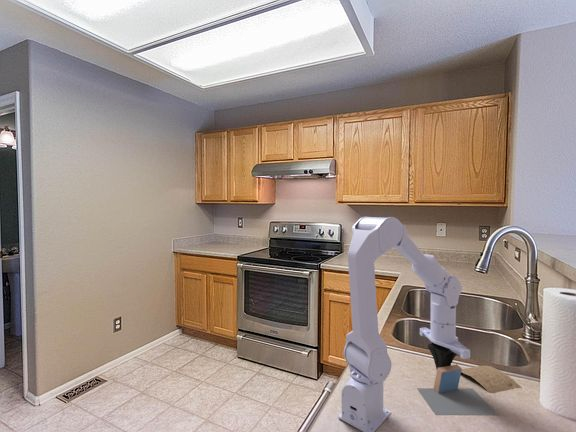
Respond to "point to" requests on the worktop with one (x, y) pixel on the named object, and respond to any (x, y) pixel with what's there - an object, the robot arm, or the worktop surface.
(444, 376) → the tile
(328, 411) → the worktop surface
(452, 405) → the mat
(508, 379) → the clay tablet
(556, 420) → the worktop surface
